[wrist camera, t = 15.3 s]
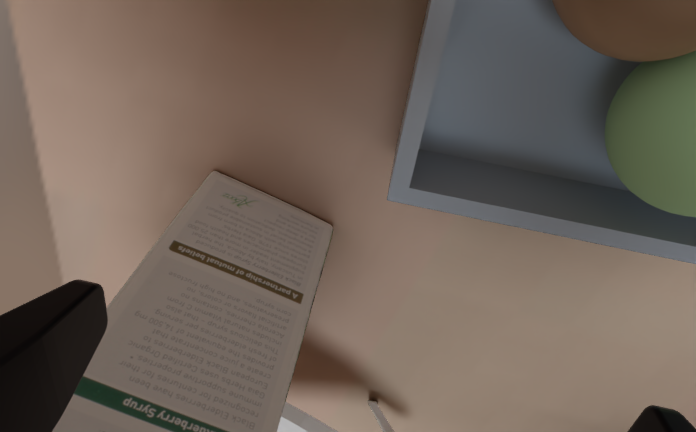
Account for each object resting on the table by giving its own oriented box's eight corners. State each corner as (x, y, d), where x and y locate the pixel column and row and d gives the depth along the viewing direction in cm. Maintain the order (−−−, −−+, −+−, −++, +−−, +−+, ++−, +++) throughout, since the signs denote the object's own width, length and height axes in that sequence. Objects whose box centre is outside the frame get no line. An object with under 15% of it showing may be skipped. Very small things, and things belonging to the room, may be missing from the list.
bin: (715, 218, 19) (765, 278, 16) (394, 152, 20) (386, 200, 17) (984, -193, 12) (1151, -216, 10) (488, -274, 13) (502, -319, 10)
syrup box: (210, 164, 21) (-98, 538, 9) (341, 224, 22) (217, 650, 10) (178, 260, 24) (-83, 636, 12) (294, 311, 25) (154, 715, 13)
